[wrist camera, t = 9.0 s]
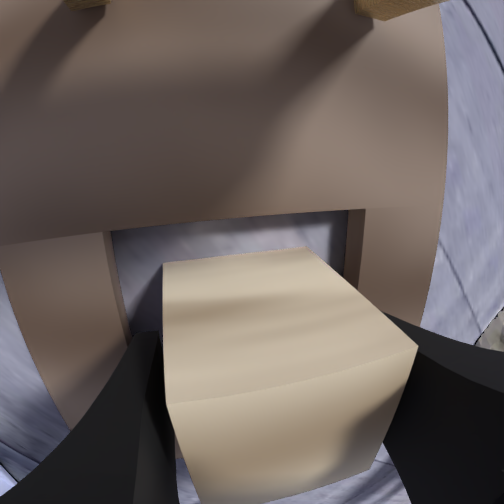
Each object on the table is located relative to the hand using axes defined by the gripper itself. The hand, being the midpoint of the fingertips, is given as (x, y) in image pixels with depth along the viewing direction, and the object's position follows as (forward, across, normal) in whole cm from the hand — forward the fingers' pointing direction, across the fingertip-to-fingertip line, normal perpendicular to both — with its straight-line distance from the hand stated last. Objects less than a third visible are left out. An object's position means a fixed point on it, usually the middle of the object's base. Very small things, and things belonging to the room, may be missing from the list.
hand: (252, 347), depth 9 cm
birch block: (+2, 0, 0) cm, 2 cm away
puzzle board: (+2, 0, -3) cm, 4 cm away
